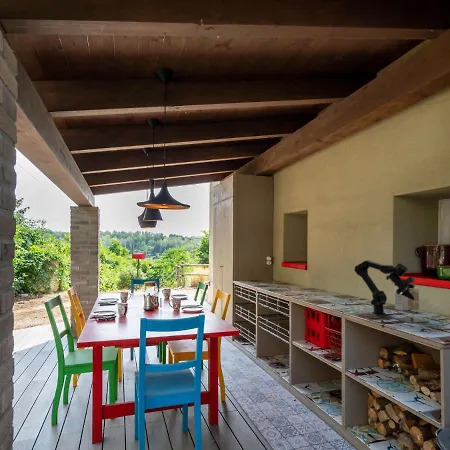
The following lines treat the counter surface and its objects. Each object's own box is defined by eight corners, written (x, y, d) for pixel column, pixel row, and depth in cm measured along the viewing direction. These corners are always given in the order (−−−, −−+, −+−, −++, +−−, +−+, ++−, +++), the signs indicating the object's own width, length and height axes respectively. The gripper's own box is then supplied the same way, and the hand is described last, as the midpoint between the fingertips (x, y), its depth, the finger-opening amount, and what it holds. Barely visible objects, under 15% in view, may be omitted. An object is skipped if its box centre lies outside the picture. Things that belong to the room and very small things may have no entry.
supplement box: (403, 308, 272) (403, 291, 273) (410, 310, 265) (410, 293, 265) (394, 309, 271) (394, 292, 271) (401, 310, 263) (401, 293, 264)
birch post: (408, 309, 234) (407, 289, 235) (411, 308, 237) (410, 288, 238) (416, 310, 230) (415, 289, 231) (419, 309, 234) (418, 289, 234)
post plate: (394, 318, 237) (394, 312, 237) (412, 317, 241) (411, 311, 241) (410, 323, 224) (410, 316, 224) (429, 322, 227) (429, 315, 228)
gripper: (400, 273, 231) (419, 292, 223) (411, 271, 244) (429, 289, 236) (388, 284, 237) (406, 303, 228) (399, 282, 250) (417, 300, 241)
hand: (415, 299), depth 233 cm, fingers closed on birch post, 5 cm apart
